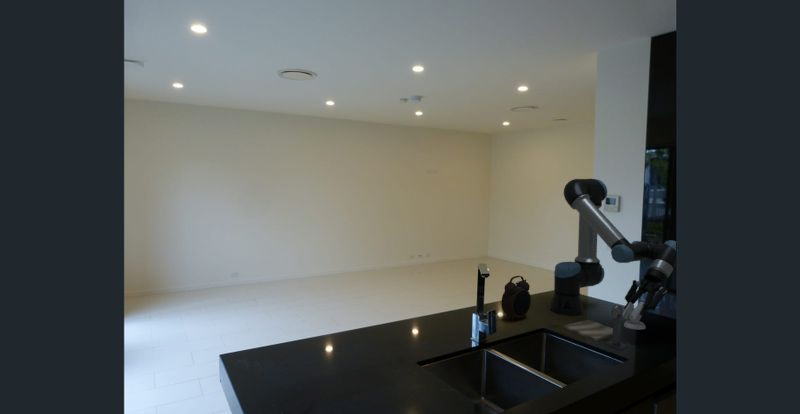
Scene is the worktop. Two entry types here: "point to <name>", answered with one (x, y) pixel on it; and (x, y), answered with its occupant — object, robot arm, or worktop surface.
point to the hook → (631, 322)
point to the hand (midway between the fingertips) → (629, 318)
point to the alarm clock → (516, 298)
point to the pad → (590, 329)
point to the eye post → (617, 328)
